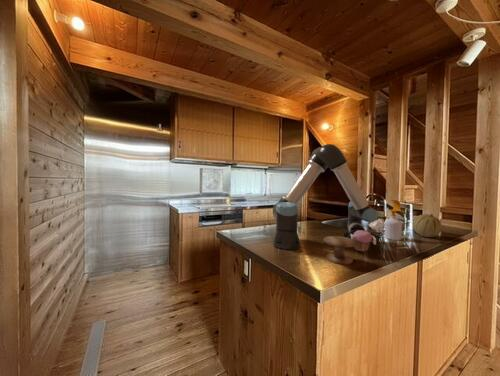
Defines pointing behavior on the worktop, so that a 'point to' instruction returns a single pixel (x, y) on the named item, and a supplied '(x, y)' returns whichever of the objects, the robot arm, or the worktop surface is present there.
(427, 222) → the cantaloupe
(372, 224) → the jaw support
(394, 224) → the soap bottle
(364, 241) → the cupcake
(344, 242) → the cake stand
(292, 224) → the robot arm
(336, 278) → the worktop surface
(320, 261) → the worktop surface
